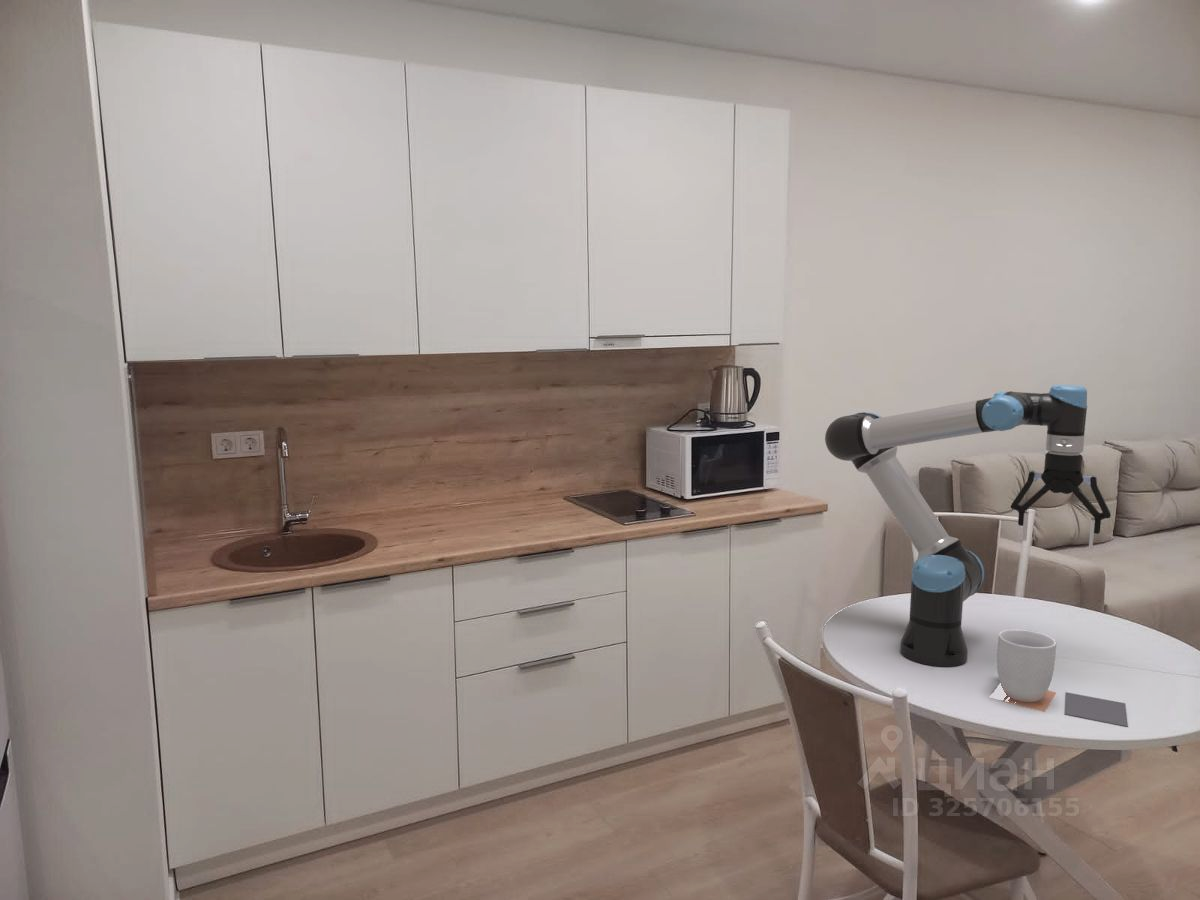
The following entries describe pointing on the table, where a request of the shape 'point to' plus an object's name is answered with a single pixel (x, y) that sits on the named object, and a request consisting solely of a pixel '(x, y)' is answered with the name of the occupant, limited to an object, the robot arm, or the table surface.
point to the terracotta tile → (1038, 705)
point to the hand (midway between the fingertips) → (1056, 543)
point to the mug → (1025, 664)
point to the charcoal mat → (1096, 709)
